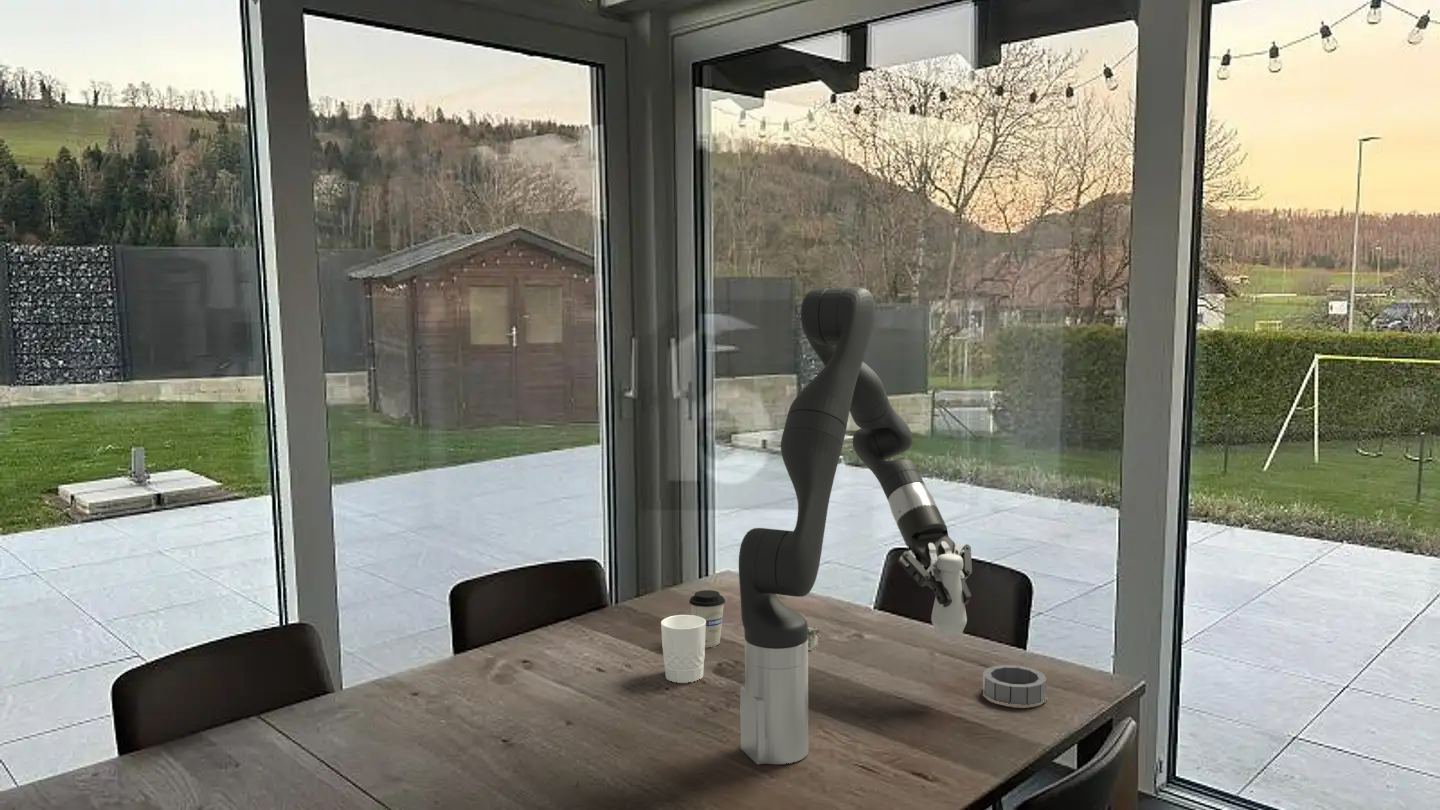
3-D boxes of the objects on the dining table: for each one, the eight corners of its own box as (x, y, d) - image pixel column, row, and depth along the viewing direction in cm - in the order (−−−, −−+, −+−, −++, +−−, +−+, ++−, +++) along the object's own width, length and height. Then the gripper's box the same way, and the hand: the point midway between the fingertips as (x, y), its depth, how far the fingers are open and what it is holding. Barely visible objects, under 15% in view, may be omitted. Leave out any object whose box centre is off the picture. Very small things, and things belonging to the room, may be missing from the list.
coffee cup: (684, 641, 203) (683, 591, 202) (716, 636, 206) (716, 586, 205) (698, 652, 197) (697, 601, 196) (731, 646, 200) (731, 595, 198)
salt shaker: (967, 639, 169) (968, 560, 168) (931, 637, 170) (932, 558, 169) (966, 627, 175) (967, 551, 173) (931, 625, 176) (932, 550, 174)
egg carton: (822, 651, 197) (822, 630, 197) (784, 656, 195) (784, 634, 195) (800, 633, 207) (801, 613, 207) (765, 637, 205) (765, 617, 205)
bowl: (1008, 712, 167) (1008, 691, 167) (969, 690, 176) (969, 670, 176) (1060, 702, 171) (1061, 681, 170) (1019, 680, 180) (1020, 661, 180)
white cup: (709, 669, 188) (708, 615, 187) (704, 685, 180) (703, 629, 179) (665, 668, 189) (664, 614, 188) (658, 684, 181) (657, 628, 180)
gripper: (889, 506, 174) (930, 597, 165) (960, 499, 180) (1003, 587, 170) (873, 531, 180) (911, 620, 170) (942, 524, 185) (982, 610, 175)
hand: (957, 603), depth 170 cm, fingers closed on salt shaker, 3 cm apart
